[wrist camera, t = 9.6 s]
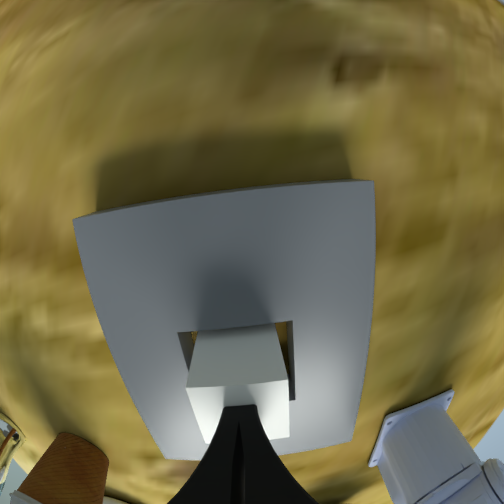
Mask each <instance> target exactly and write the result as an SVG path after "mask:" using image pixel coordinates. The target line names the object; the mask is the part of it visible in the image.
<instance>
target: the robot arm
mask: <svg viewBox="0 0 504 504" xmlns="http://www.w3.org/2000/svg"><path fill="white" fill-rule="evenodd" d="M453 395H454V391H453V390H452V389H451V390H449V391H447V392H444V393H442V394H440V395H438V396H435V397H433V398H431V399H428V400H426V401H423V402H421V403H418V404H416V405H413V406H411V407H408V408H405V409H403V410H400V411H397V412H394V413H391V414H389V415H387V416H386V417H385V419H384V422H383V425H382V428H381V431H380V433H379V436H378V439H377V442H376V445H375V447H374V450H373V453H372V455H371V458H370V460H369V463H368V466H369V467H373V466H376V465H377V466H378V468H379V470H380V473H381V475H382V478H383V480H384V482H385V485H386V487H387V490H388V492H389V494H390V497H391V499H392V501H393V503H394V504H504V464H503V463H502V462H501V461H500V460H499V459H488V460H487V461H486V462H481V461H480V459H479V458H478V456H477V455H476V453H475V452H474V450H473V449H472V447H471V446H470V445H469V443H468V442H467V440H466V439H465V437H464V436H463V435H462V433H461V432H460V430H459V429H458V428H457V426H456V425H455V423H454V422H453V421H452V419H451V418H450V417H449V415H448V414H447V413H446V410H447V408H448V406H449V404H450V402H451V400H452V397H453ZM167 504H319V503H318V502H316V501H315V500H314V499H313V498H312V497H311V496H310V495H309V494H308V493H307V492H306V491H305V490H304V489H303V488H302V487H301V485H300V484H299V483H298V482H297V481H296V480H295V479H294V477H293V476H292V475H291V474H290V472H289V471H288V470H287V468H286V467H285V466H284V464H283V463H282V461H281V460H280V458H279V457H278V455H277V453H276V452H275V450H274V448H273V447H272V445H271V443H270V441H269V439H268V437H267V435H266V433H265V431H264V429H263V426H262V424H261V421H260V418H259V414H258V409H257V405H255V404H250V405H239V406H226V407H224V408H223V410H222V414H221V417H220V420H219V423H218V426H217V429H216V431H215V433H214V436H213V438H212V440H211V442H210V444H209V447H208V449H207V450H206V452H205V454H204V456H203V458H202V459H201V461H200V463H199V465H198V466H197V468H196V469H195V471H194V472H193V474H192V475H191V477H190V478H189V479H188V481H187V482H186V483H185V484H184V486H183V487H182V488H181V489H180V491H179V492H178V493H177V494H176V495H175V496H174V497H173V498H172V499H171V500H170V501H169V502H168V503H167Z"/></svg>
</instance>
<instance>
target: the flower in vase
mask: <svg viewBox="0 0 504 504" xmlns="http://www.w3.org/2000/svg"><path fill="white" fill-rule="evenodd" d="M103 504H128V503H125V502H123V501H120V500H117V499H114V498H110V497H106V496H104V498H103Z"/></svg>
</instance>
